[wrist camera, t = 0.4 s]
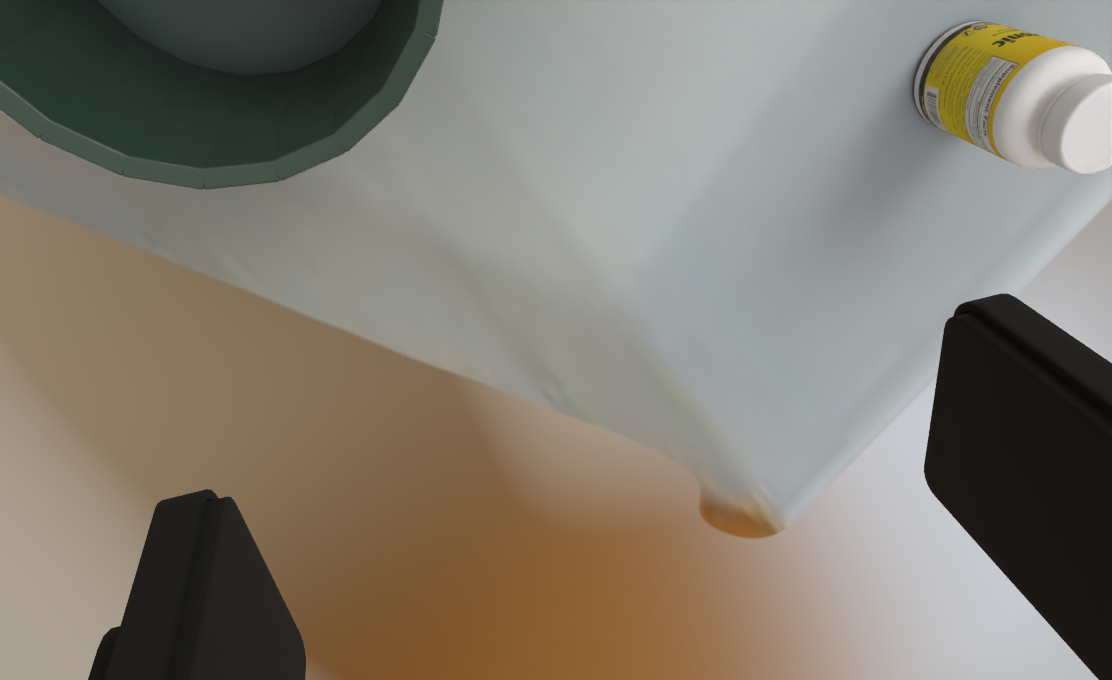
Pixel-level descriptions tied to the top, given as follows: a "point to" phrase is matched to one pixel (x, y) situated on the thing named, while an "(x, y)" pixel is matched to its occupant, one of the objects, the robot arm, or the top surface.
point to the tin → (209, 81)
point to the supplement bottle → (1019, 96)
